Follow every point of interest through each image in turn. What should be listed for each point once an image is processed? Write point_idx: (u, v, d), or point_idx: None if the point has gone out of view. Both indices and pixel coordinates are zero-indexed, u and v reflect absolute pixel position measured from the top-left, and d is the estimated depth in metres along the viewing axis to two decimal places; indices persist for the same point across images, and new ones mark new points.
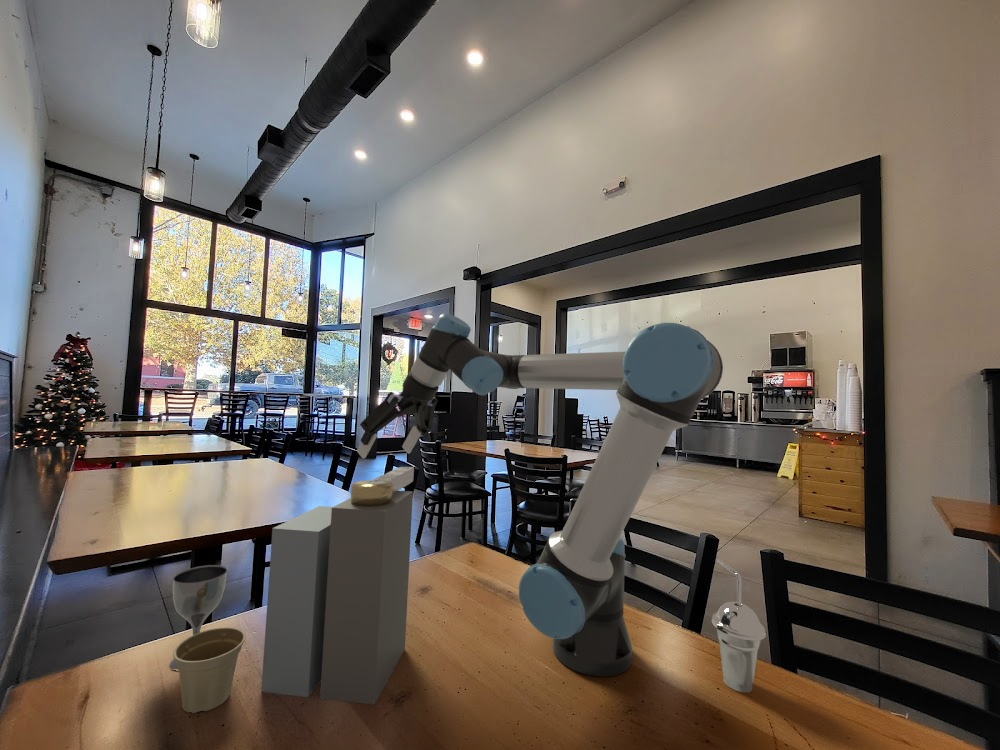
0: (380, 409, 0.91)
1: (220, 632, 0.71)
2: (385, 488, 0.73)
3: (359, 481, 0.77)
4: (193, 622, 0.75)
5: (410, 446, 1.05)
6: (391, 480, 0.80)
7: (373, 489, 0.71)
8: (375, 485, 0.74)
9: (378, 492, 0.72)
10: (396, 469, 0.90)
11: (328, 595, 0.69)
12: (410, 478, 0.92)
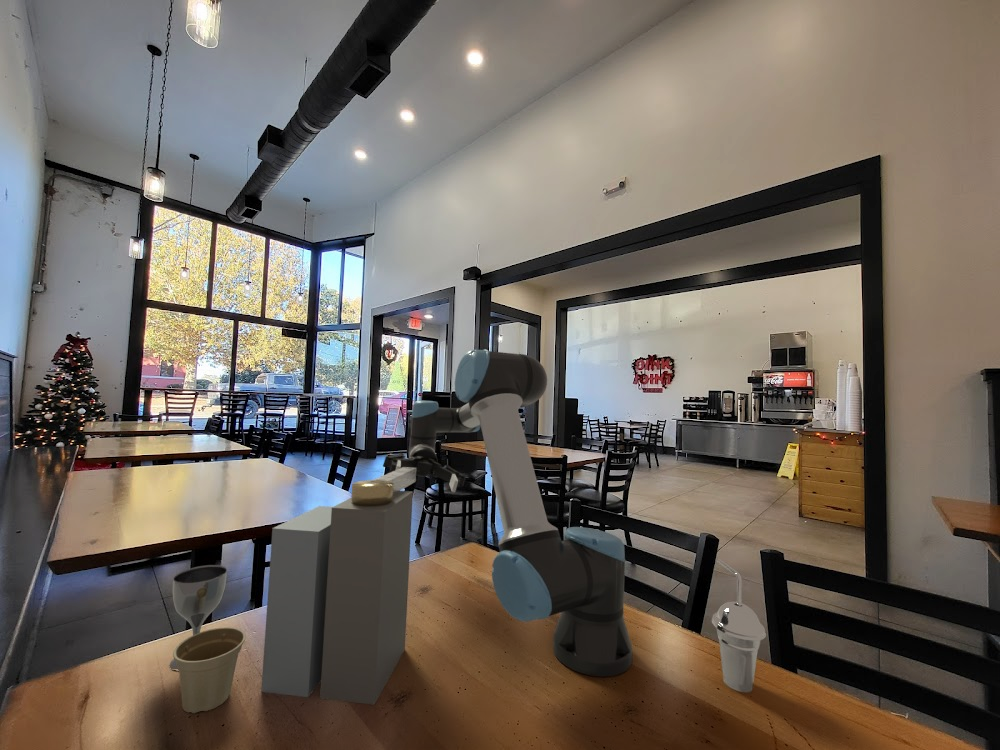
0: None
1: (220, 632, 0.71)
2: (385, 488, 0.73)
3: (360, 481, 0.77)
4: (193, 622, 0.75)
5: (453, 479, 1.00)
6: (392, 480, 0.80)
7: (373, 489, 0.71)
8: (375, 485, 0.74)
9: (378, 491, 0.72)
10: (398, 469, 0.90)
11: (328, 595, 0.69)
12: (412, 479, 0.92)
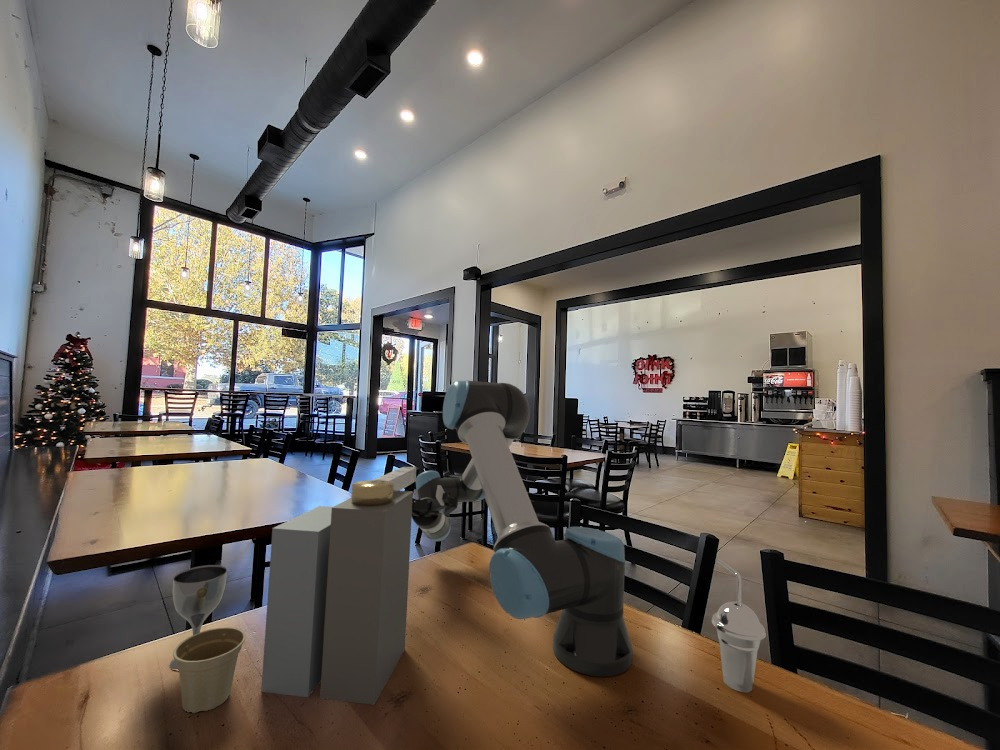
0: None
1: (220, 632, 0.71)
2: (385, 488, 0.73)
3: (360, 481, 0.77)
4: (193, 622, 0.75)
5: None
6: (392, 480, 0.80)
7: (373, 489, 0.71)
8: (375, 485, 0.74)
9: (378, 492, 0.72)
10: (398, 469, 0.90)
11: (328, 595, 0.69)
12: (412, 478, 0.92)
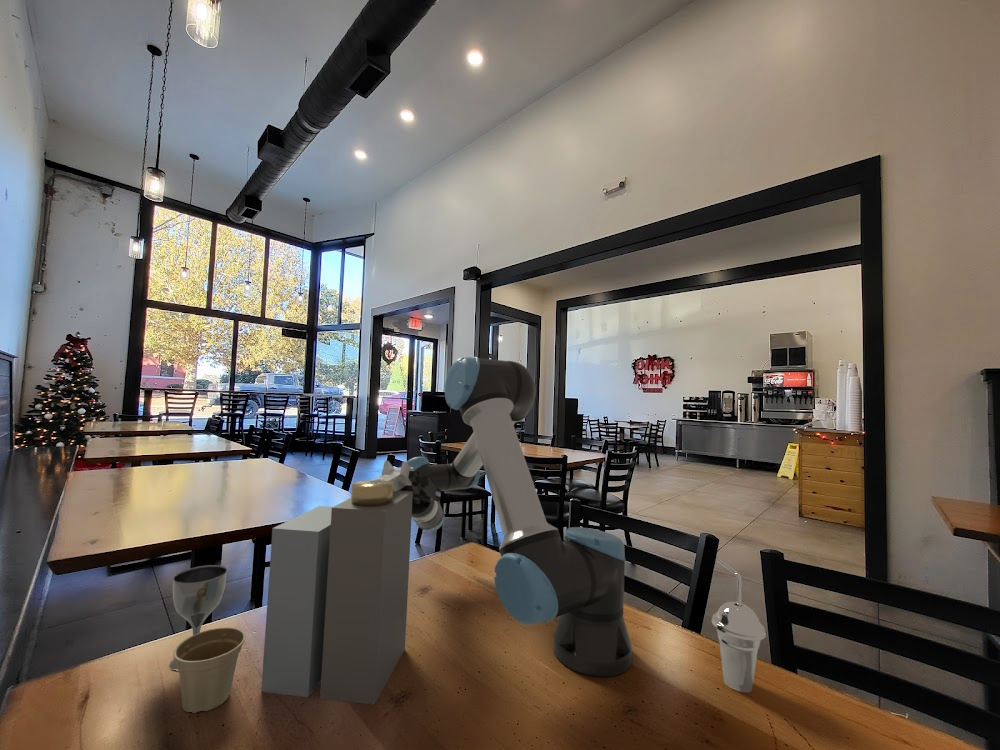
0: None
1: (220, 632, 0.71)
2: (385, 488, 0.73)
3: (360, 481, 0.76)
4: (193, 622, 0.75)
5: None
6: (391, 480, 0.80)
7: (373, 489, 0.71)
8: (375, 485, 0.74)
9: (378, 491, 0.72)
10: (396, 469, 0.90)
11: (328, 595, 0.69)
12: None
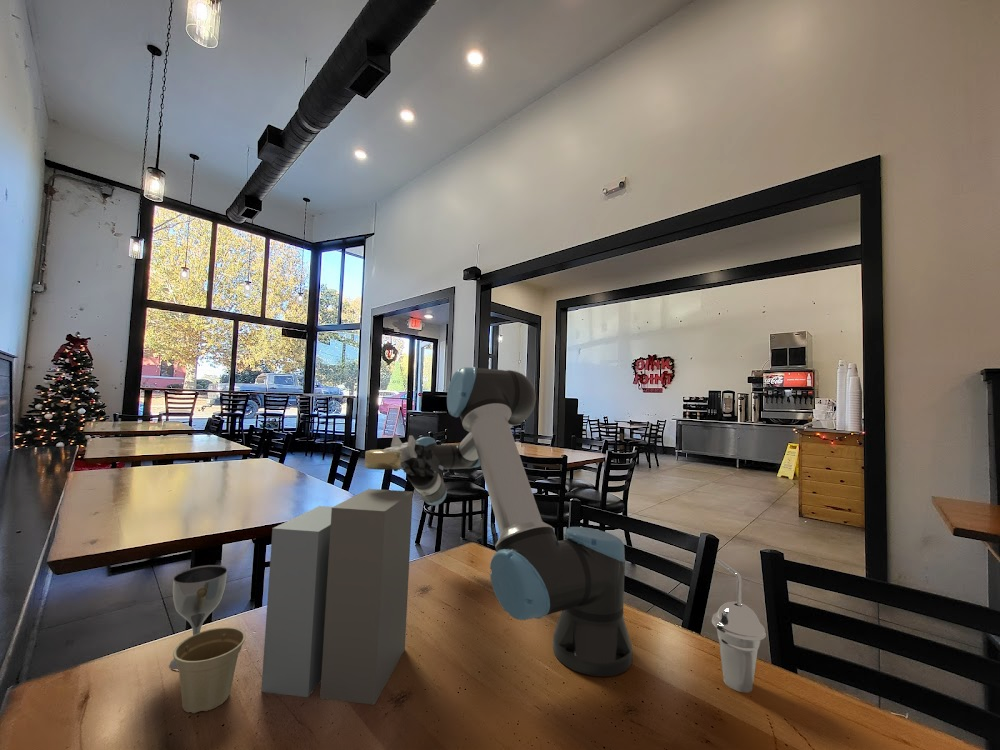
0: None
1: (220, 632, 0.71)
2: (395, 454, 0.83)
3: (372, 450, 0.87)
4: (193, 622, 0.75)
5: None
6: (399, 450, 0.91)
7: (384, 454, 0.82)
8: (386, 452, 0.84)
9: (388, 457, 0.82)
10: (403, 443, 1.01)
11: (328, 595, 0.69)
12: None
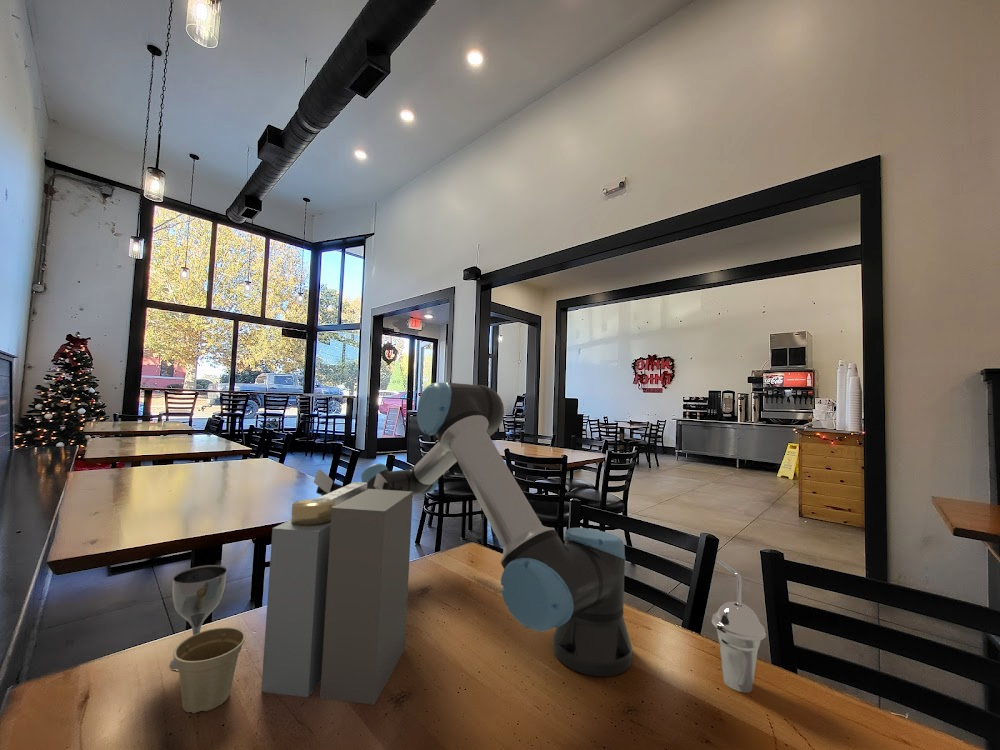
0: None
1: (220, 632, 0.71)
2: (325, 508, 0.73)
3: (302, 500, 0.77)
4: (193, 622, 0.75)
5: None
6: (336, 498, 0.81)
7: (312, 509, 0.72)
8: (316, 504, 0.74)
9: (317, 511, 0.72)
10: (348, 485, 0.91)
11: (328, 595, 0.69)
12: None
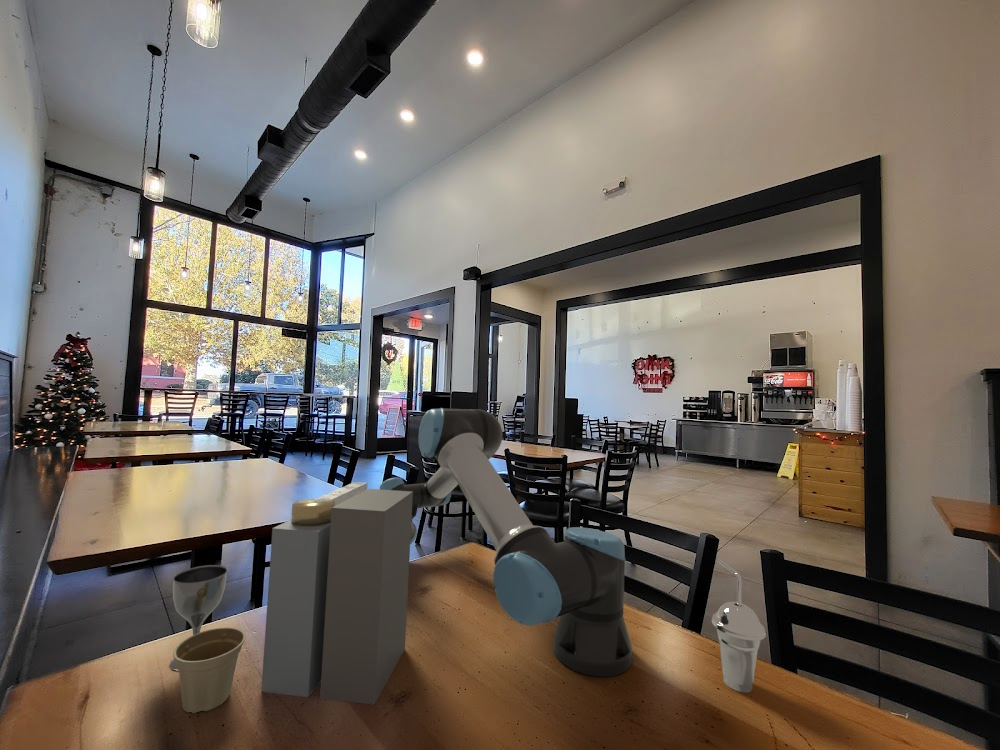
0: None
1: (220, 632, 0.71)
2: (325, 508, 0.73)
3: (302, 500, 0.77)
4: (193, 622, 0.75)
5: None
6: (336, 498, 0.81)
7: (312, 509, 0.72)
8: (316, 504, 0.74)
9: (317, 511, 0.72)
10: (348, 485, 0.91)
11: (328, 595, 0.69)
12: None
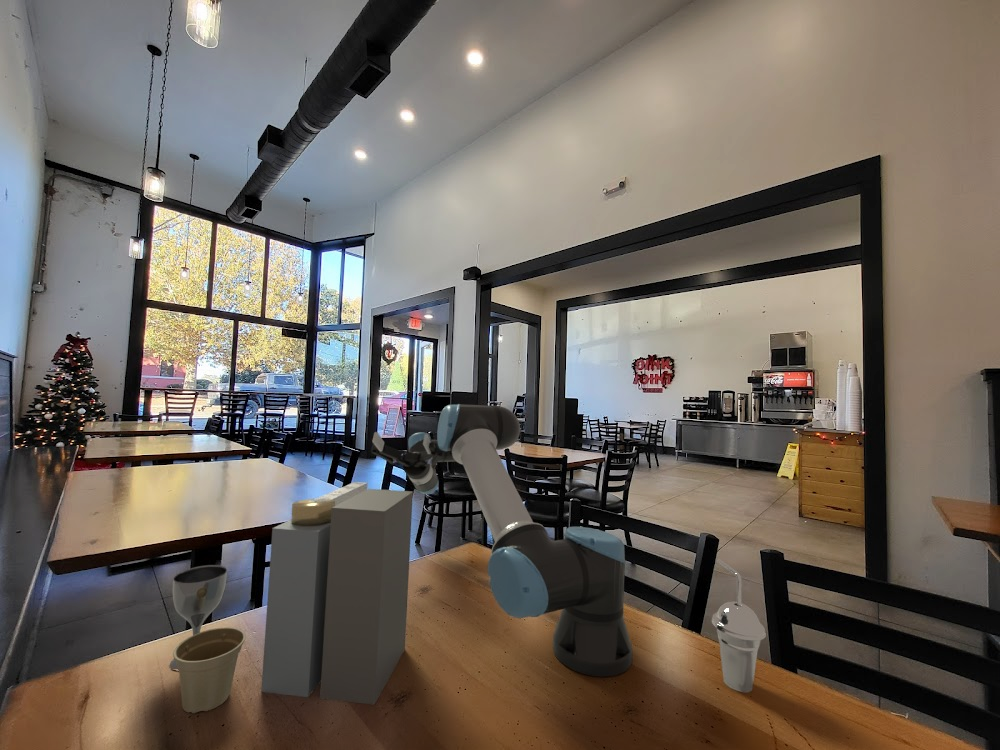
0: None
1: (220, 632, 0.71)
2: (325, 508, 0.73)
3: (302, 500, 0.77)
4: (193, 622, 0.75)
5: None
6: (336, 498, 0.81)
7: (312, 509, 0.72)
8: (316, 504, 0.74)
9: (317, 511, 0.72)
10: (348, 485, 0.91)
11: (328, 595, 0.69)
12: None
